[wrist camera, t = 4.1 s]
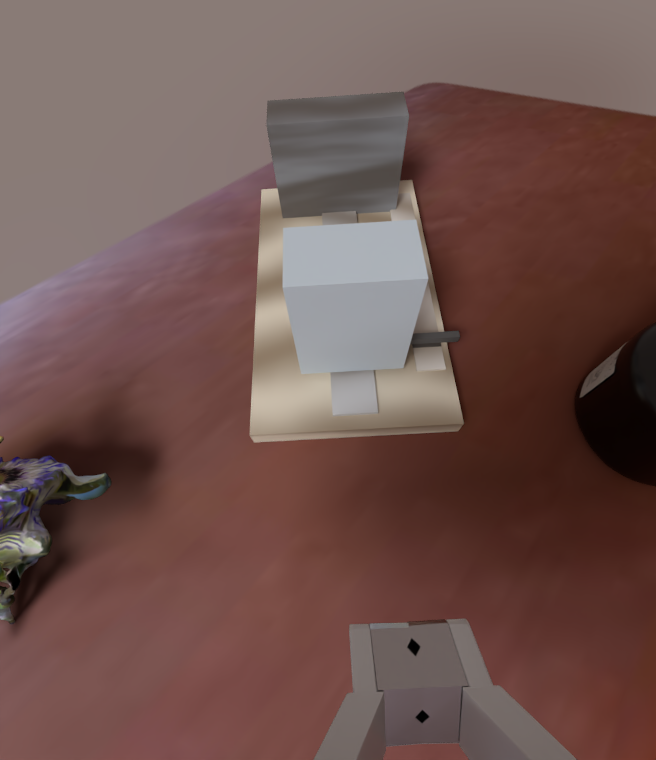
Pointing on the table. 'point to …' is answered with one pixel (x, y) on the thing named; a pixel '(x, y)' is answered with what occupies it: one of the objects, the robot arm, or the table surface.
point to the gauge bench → (331, 207)
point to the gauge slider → (355, 295)
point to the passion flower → (33, 513)
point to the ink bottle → (623, 408)
